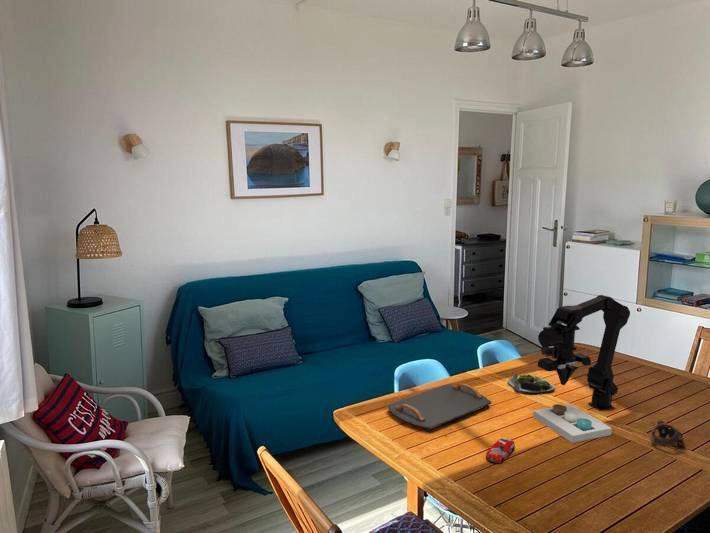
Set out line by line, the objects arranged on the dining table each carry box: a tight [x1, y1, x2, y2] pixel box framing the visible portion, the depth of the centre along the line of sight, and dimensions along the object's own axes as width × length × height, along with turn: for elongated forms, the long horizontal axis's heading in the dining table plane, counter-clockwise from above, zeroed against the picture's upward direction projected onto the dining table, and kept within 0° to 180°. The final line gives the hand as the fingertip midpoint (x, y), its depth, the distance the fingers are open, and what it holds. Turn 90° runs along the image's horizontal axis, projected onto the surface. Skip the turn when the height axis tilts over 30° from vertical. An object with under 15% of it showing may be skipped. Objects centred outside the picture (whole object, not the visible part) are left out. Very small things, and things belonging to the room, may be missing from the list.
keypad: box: [532, 403, 613, 444], centre depth 185 cm, size 16×20×2 cm
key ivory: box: [564, 411, 579, 423], centre depth 185 cm, size 5×5×3 cm
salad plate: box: [507, 373, 556, 396], centre depth 221 cm, size 19×18×5 cm
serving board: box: [387, 383, 492, 433], centre depth 198 cm, size 39×23×6 cm, turn 128°
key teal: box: [576, 418, 592, 431], centre depth 179 cm, size 5×5×3 cm
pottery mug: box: [650, 420, 686, 449], centre depth 172 cm, size 12×10×8 cm
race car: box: [485, 437, 516, 464], centre depth 166 cm, size 13×5×4 cm, turn 140°
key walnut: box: [552, 403, 567, 416], centre depth 190 cm, size 5×5×3 cm
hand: (563, 384), depth 190 cm, fingers closed
